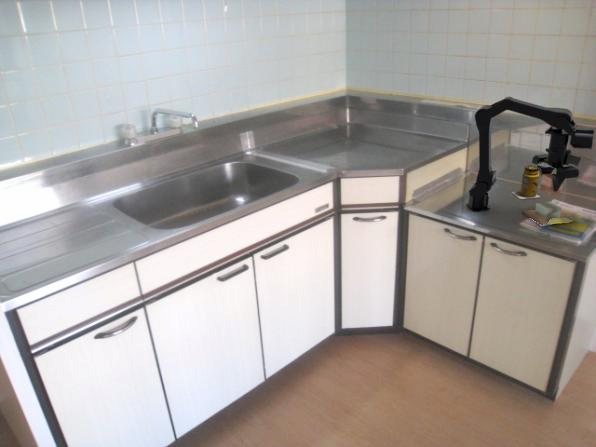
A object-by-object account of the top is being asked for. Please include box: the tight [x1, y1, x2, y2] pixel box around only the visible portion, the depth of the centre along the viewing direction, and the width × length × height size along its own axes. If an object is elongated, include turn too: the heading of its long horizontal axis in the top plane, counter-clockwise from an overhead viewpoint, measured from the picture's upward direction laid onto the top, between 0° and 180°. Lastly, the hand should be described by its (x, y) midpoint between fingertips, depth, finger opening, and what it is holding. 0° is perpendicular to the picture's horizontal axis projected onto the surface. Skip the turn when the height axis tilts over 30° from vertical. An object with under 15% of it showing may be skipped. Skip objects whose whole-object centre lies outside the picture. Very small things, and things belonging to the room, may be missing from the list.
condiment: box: [511, 164, 541, 200], centre depth 202 cm, size 7×8×12 cm
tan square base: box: [522, 201, 573, 225], centre depth 183 cm, size 12×12×5 cm
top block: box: [539, 172, 565, 196], centre depth 179 cm, size 5×5×6 cm
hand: (551, 188), depth 179 cm, fingers closed on top block, 5 cm apart
